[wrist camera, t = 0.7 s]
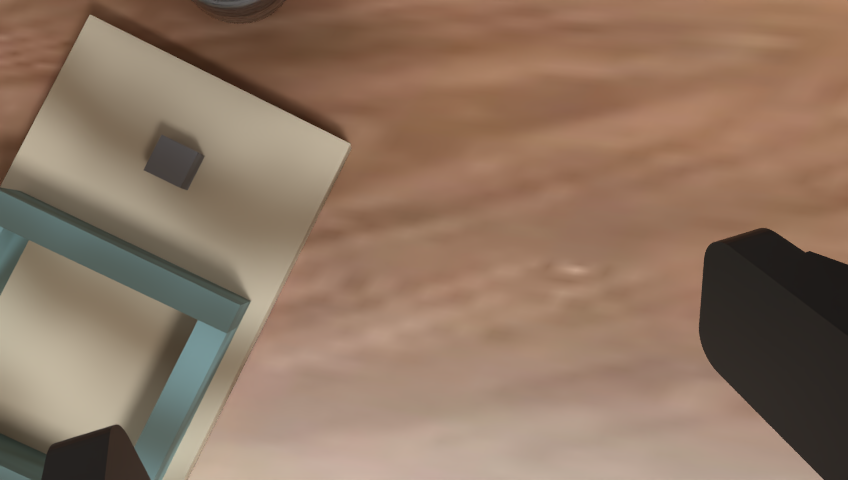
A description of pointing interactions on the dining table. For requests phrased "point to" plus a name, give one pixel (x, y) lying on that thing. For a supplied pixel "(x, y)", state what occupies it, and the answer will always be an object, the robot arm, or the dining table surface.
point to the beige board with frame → (144, 250)
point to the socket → (239, 9)
